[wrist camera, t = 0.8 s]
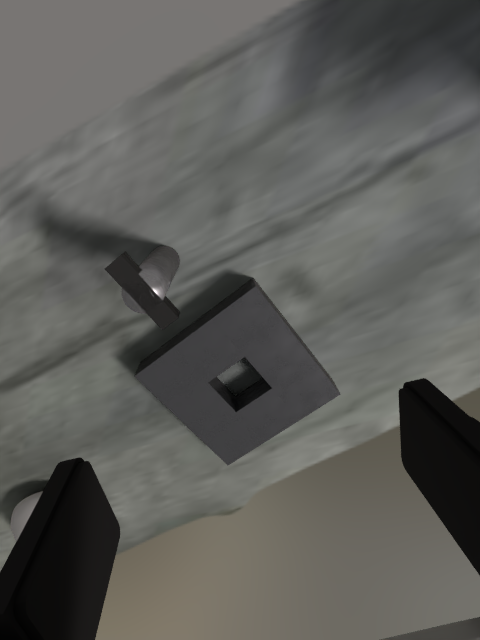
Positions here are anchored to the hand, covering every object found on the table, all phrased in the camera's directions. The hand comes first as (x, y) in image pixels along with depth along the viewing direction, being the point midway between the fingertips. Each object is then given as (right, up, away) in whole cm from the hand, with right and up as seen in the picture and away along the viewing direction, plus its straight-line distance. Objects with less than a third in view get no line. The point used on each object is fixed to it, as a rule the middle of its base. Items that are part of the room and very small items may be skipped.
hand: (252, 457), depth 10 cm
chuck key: (-8, +10, +25) cm, 28 cm away
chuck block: (0, -2, +31) cm, 31 cm away
